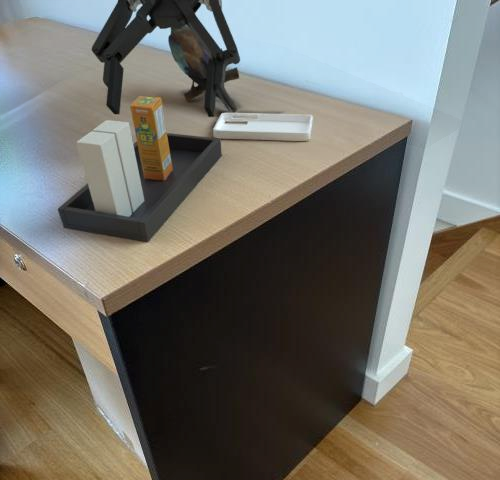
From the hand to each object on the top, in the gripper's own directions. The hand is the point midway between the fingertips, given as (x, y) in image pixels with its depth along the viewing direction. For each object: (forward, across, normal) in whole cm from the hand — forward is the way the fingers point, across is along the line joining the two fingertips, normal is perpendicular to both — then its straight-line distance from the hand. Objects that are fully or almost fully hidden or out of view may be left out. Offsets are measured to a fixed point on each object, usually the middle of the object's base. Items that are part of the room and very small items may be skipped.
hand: (160, 111), depth 69 cm
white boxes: (+16, -2, -6) cm, 17 cm away
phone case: (-4, +12, +14) cm, 19 cm away
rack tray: (+11, 0, 0) cm, 11 cm away
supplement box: (+9, 0, +1) cm, 9 cm away
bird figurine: (-14, 0, +24) cm, 28 cm away
